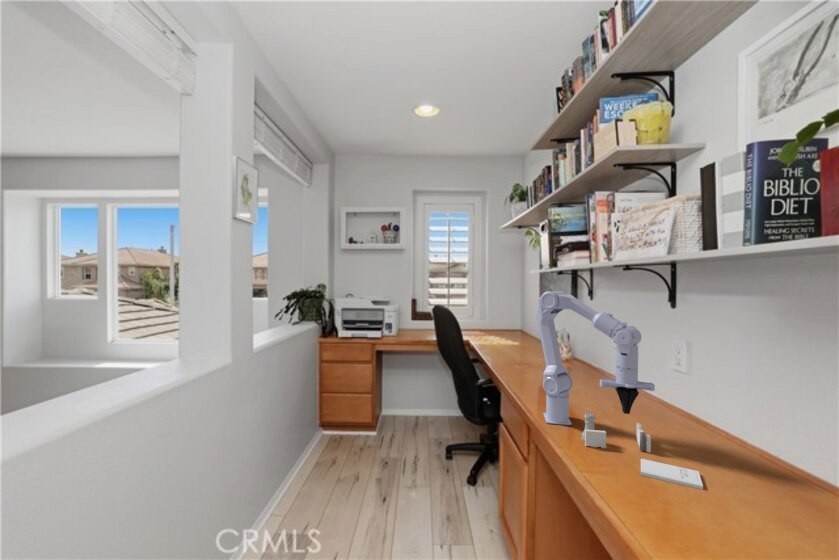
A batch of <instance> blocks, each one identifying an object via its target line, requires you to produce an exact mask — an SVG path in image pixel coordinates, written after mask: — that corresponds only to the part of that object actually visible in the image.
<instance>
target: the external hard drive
mask: <svg viewBox="0 0 839 560" xmlns="http://www.w3.org/2000/svg"><path fill="white" fill-rule="evenodd" d="M641 475H643V476H642V477H646V478H650V479H655V480H660V481H663V482H667V483H671V484H676V485H681V486H686V487H690V488H694V489H698V490H702V491H703V490H704V485H703V481H702V478H701V475H700V471H699V470H694V469H690V468H686V467H681V466H678V465H672V464H667V463H663V462H658V461H653V460H650V459H645V458H640V476H641Z"/></svg>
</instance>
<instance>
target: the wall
mask: <svg viewBox="0 0 839 560" xmlns="http://www.w3.org/2000/svg"><path fill="white" fill-rule="evenodd" d="M584 429H585V428H584ZM584 446H585V447H586V446H591V447H590V448H597V447H601V448H600V449H607V431H606V430H597V429H596V430H595V429H594V430H588V429H585V442H584ZM645 452H646V453H649V454H651V452H652V436H651V435H650V434H647V433H646V434H645Z"/></svg>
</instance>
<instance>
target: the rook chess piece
mask: <svg viewBox="0 0 839 560" xmlns="http://www.w3.org/2000/svg"><path fill="white" fill-rule="evenodd" d="M583 418H584V423H585V424H584V430H583V431H582V433H581V440H582V441H583V442H584V441H585V429H588V430H595V424H596V422H595V420H596V419H597V418H596V416H595V413H592V412H590V413H589V412H585V413H584V415H583Z"/></svg>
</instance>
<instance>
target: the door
mask: <svg viewBox="0 0 839 560" xmlns="http://www.w3.org/2000/svg"><path fill="white" fill-rule="evenodd" d="M635 423H636V425H635V426H636V427H635V428H636V429H635V431H636V432H635V433H636V434H635V439H636V441H637V445H638V447H639V451H643V452H644V451H645V432H644V429H643V427H642V424H641V422H635ZM645 452H646V451H645Z"/></svg>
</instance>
